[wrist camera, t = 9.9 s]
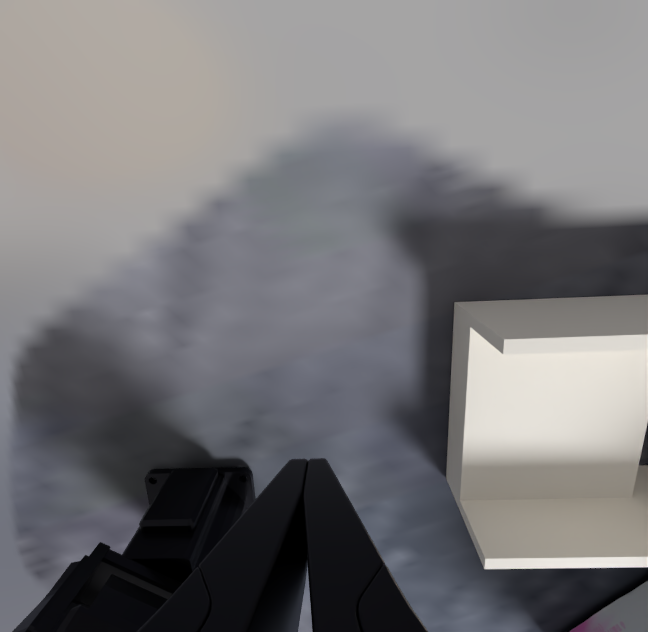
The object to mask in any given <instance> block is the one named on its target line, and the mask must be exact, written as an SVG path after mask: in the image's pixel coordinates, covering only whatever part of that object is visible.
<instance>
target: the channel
mask: <svg viewBox="0 0 648 632" xmlns="http://www.w3.org/2000/svg"><path fill="white" fill-rule="evenodd" d="M647 423H648V295H625V296H599V297H574V298H548V299H523V300H497V301H472V302H454V323H453V344H452V365H451V386H450V407H449V428H448V449H447V470H446V479H447V482H448V484H449V486H450V489H451V491H452V493H453V496H454V498H455V501H456V503H457V505H458V508H459V510H460V512H461V515H462V517H463V520H464V522H465V524H466V527H467V529H468V531H469V534H470V536H471V539H472V541H473V543H474V546H475V548H476V551H477V553H478V555H479V558H480V560H481V562H482V565H483V567H484V569H547V568H630V567H648V465H639V461H640V456H641V452H642V447H643V442H644V437H645V432H646V428H647Z"/></svg>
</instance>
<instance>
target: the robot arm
mask: <svg viewBox="0 0 648 632" xmlns="http://www.w3.org/2000/svg"><path fill="white" fill-rule="evenodd" d="M241 475H244V476H246V477H247V478H243V477H241ZM152 477H154V478H156V479H157V480H155V479H153V478H152ZM145 484H146V489H147V494H148V499H149V504H150V507H149V508H148V510H147V511H146V513H145V515H144V516H143V518H142V519H141V521H140V523H139V525H140V527H139V528H138V530H137V531H136V533H135V535H134V536H133V538H132V539H131V541H130V543H129V544H128V546H127V548H126V549H125V551H124V552H123V554H122V555H121V554H119V553H117V552H115V551H112V550H110V546H108V545H105V544H103V543H101V542H100V543H99V544H98V545H97V547H96V548H95V549H94V551H93V552H92V553H91V554H90V556H87V555H85V556H84V557H83V559H82V560H81V561H79V562H73V563H71V564H70V565H69V567H68V568H67V569H66V571H65V572H64V573H63V575H62V576H61V577H60V579H59V580H58V581H57V583H56V584H55V585H54V587H53V588H52V589H51V591H50V592H49V593H48V594H47V595H46V597H45V598H44V599H43V600H42V601H41V602H40V603H39V605H38V606H37V607H36V608H35V609H34V610H33V611H32V612H31V613H30V614H29V615H28V616H27V617H26V618H25V619H24V620H23V621H22V622H21V623H20V624H19V625H18V626H17V627H16V629H14V631H13V632H298V627H299V620H300V614H301V607H302V601H303V594H304V587H305V581H306V573H307V565H308V575H309V588H310V602H311V615H312V629H313V632H428V631H427V629H426V628H425V626H424V625H423V623H422V622H421V621H420V619H419V618H418V616H417V615H416V613H415V612H414V611H413V609H412V608H411V606H410V604H409V603H408V601H407V600H406V598H405V596H404V595H403V593H402V591H401V590H400V588H399V586H398V585H397V583H396V581H395V580H394V578H393V576H392V574H391V573H390V571H389V569H388V567H387V566H386V565H385V562H384V561H383V559H382V557H381V555H380V553H379V552H378V550H377V548H376V546H375V545H374V543H373V541H372V539H371V538H370V536H369V534H368V532H367V530H366V529H365V527H364V525H363V523H362V522H361V520H360V518H359V516H358V514H357V513H356V511H355V509H354V507H353V506H352V504H351V502H350V500H349V498H348V497H347V495H346V493H345V491H344V490H343V488H342V486H341V484H340V483H339V481H338V479H337V477H336V475H335V474H334V472H333V470H332V468H331V467H330V465H329V463H328V461H327V460H326V459H324V458H320V459H310V460H309V461H308V460H307V459H291V460H289V461H288V463H287V464H286V465H285V466H284V467H283V468H282V470H281V471H280V472H279V473H278V474H277V475H276V476H275V478H274V479H273V480H272V481H271V482H270V483H269V485H268V486H267V487H266V488H265V489H264V490H263V491H262V493H261V494H260V495H259V496H258V497H257V498H256V499H255V491H254V482H253V474H252V471H251V470H250V469H248V468H245V467H236V468H183V469H154V470H151V471H149V473H148V474H147V475H146V477H145Z"/></svg>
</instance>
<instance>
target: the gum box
mask: <svg viewBox="0 0 648 632" xmlns="http://www.w3.org/2000/svg"><path fill="white" fill-rule="evenodd" d="M569 632H648V581H646V582H645V583H643V584H642V585H640V586H639V587H637V588H636V589H634V590H632V591H631V592H629V593H628V594H626V595H624V596H622V597H621V598H619V599H617V600H616V601H614V602H613V603H611V604H610V605H608V606H606V607H605V608H603V609H602V610H600V611H599V612H598V613H596V614H594V615H593V616H591V617H590V618H589V619H587V620H586V621H585V622H583V623H582V624H580V625H578V626H577V627H575V628H574V629H572V630H571V631H569Z"/></svg>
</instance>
